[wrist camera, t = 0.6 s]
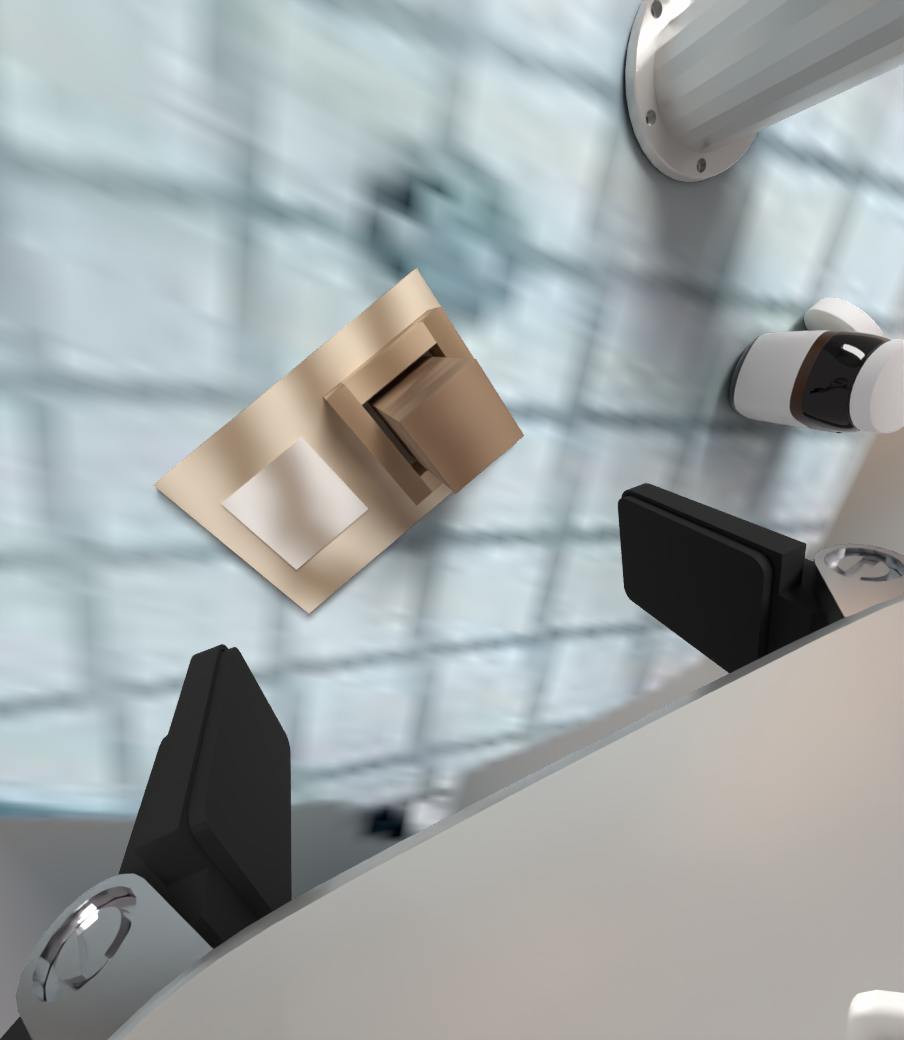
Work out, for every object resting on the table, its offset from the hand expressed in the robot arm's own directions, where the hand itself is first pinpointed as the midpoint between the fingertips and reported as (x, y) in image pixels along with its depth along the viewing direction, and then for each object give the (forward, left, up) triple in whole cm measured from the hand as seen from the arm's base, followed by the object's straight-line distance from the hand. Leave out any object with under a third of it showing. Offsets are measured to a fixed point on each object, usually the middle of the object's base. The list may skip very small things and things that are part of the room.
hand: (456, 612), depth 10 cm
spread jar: (-36, +21, -25) cm, 49 cm away
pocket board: (0, +2, -25) cm, 25 cm away
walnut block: (-5, +2, -24) cm, 25 cm away
